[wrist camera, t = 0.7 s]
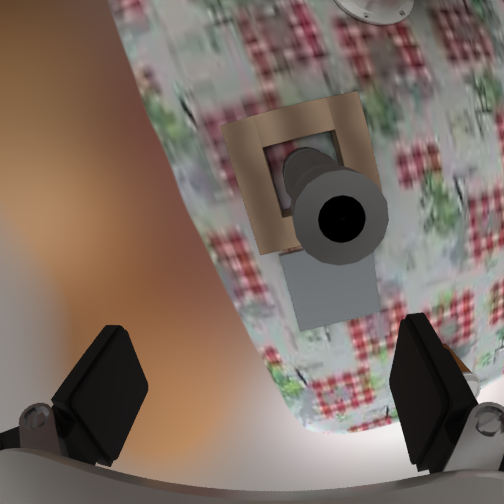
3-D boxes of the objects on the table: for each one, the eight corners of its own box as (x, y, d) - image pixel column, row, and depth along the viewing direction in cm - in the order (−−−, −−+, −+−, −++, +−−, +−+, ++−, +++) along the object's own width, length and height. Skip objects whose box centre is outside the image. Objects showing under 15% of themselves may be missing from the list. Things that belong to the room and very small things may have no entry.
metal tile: (367, 232, 43) (369, 233, 42) (378, 308, 47) (380, 311, 47) (279, 254, 45) (279, 256, 45) (300, 328, 50) (300, 331, 49)
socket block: (350, 94, 37) (357, 91, 33) (378, 215, 42) (387, 223, 38) (225, 126, 40) (220, 125, 36) (261, 244, 45) (260, 255, 41)
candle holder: (328, 193, 42) (387, 269, 18) (282, 193, 42) (287, 269, 19) (329, 147, 40) (396, 167, 16) (282, 146, 40) (287, 164, 17)
